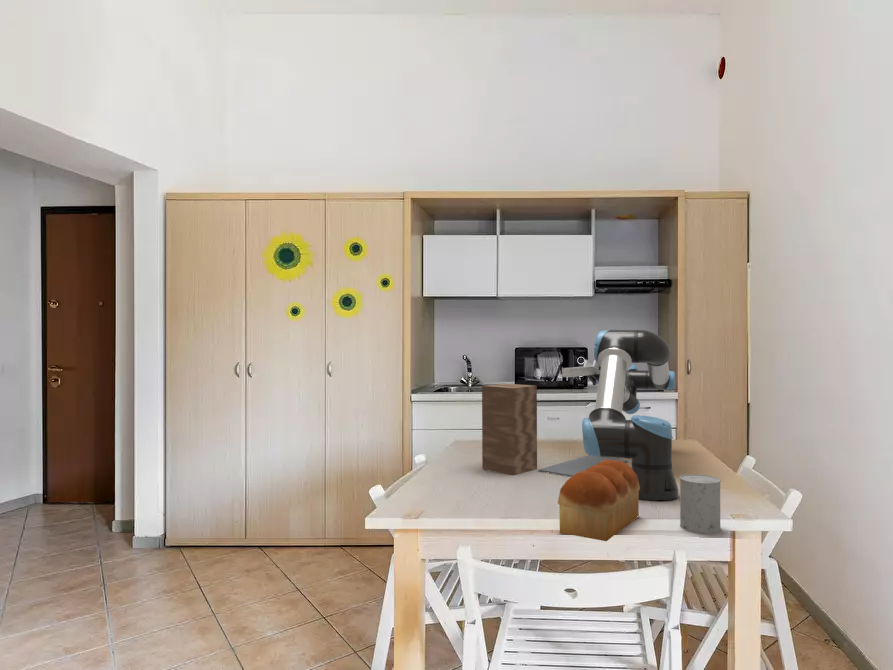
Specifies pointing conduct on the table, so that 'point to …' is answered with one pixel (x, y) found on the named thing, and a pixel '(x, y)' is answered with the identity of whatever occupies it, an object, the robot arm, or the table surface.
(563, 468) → the rubber mat
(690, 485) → the concrete cylinder
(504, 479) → the table surface
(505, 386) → the walnut pedestal
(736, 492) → the table surface
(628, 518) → the bread
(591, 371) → the steel bar
